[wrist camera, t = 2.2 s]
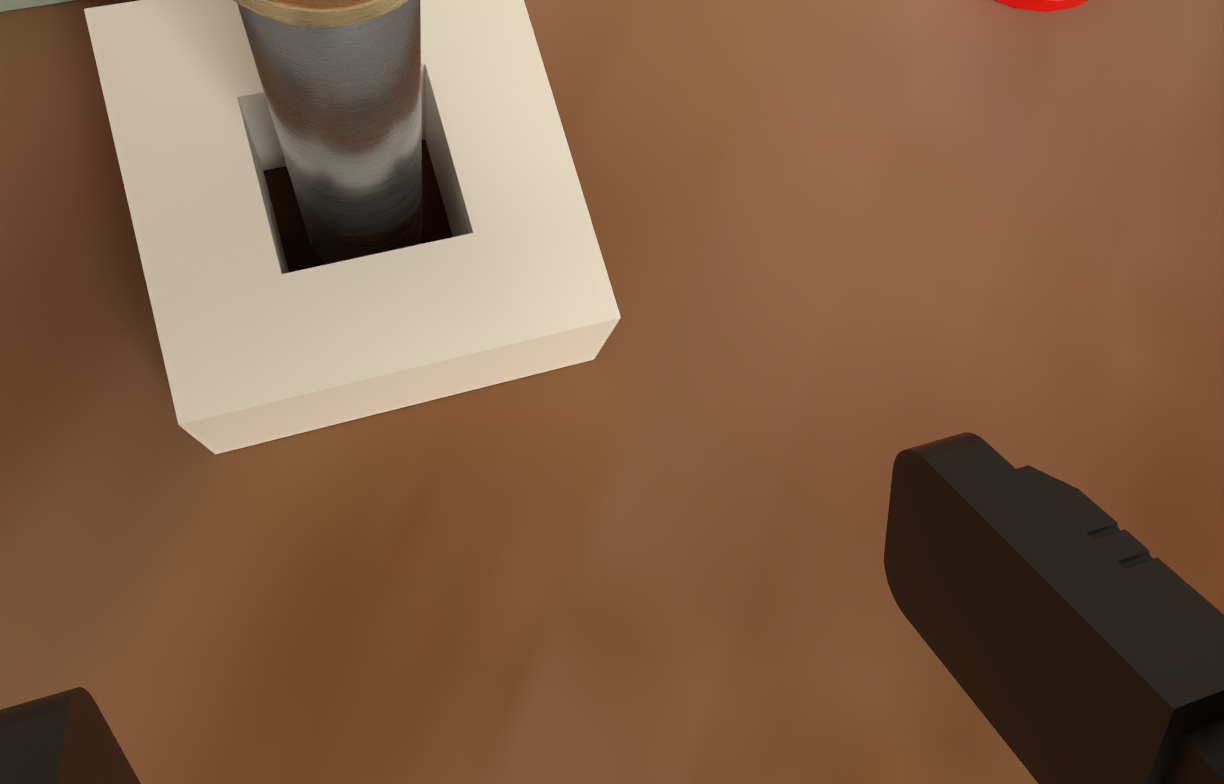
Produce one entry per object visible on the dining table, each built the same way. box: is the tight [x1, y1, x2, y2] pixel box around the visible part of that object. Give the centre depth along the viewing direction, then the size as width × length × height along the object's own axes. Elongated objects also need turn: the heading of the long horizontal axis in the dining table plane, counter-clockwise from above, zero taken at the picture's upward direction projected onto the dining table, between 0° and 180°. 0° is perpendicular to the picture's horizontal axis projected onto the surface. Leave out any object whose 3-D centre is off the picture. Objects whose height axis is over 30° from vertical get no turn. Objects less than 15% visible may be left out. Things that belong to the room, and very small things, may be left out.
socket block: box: [84, 0, 621, 454], centre depth 26 cm, size 10×10×4 cm
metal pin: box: [233, 0, 422, 265], centre depth 21 cm, size 4×4×14 cm
